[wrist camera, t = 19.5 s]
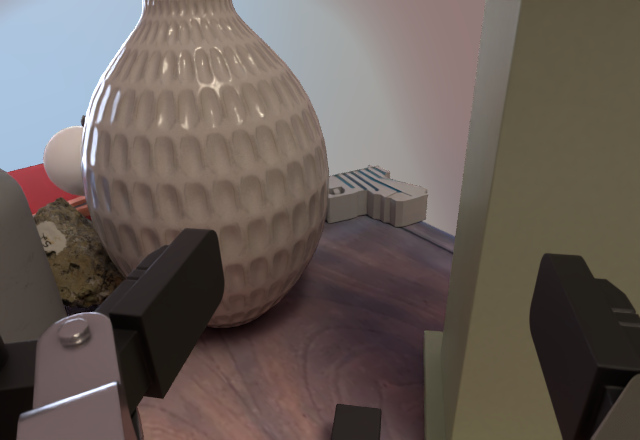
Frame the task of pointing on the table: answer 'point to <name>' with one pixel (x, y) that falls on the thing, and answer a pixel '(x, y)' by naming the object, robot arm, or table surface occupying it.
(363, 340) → the table surface
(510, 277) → the green railed pedestal
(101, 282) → the rock
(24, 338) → the water bottle
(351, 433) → the marker
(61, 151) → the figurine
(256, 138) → the vase
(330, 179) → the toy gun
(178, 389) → the table surface
